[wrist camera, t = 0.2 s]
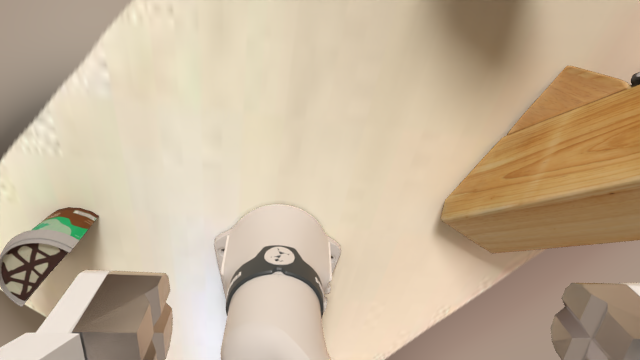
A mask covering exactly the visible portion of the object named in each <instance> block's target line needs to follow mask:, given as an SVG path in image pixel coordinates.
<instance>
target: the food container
mask: <svg viewBox="0 0 640 360" xmlns="http://www.w3.org/2000/svg"><path fill="white" fill-rule="evenodd" d="M98 217H99V216H98V215H96V214H95V213H93V212H91V211H88V210H84V209H81V208H70V207H68V208H64V209H60V210H57V211H56V212H54V213H52V214H51V215H50V216H48V217H47V218H46V219H45V220H43V221H42V222H41V223H40V224H38V225H37V226H36V227H35V228H33V229H32V230H31V231H27V232H23V233H21V234H19V235H17V236H15V237H14V238H12V239H11V240H10V241H9V242H8V243H7V245H6V246H5V248H4V249H3V251H2V253H1V255H0V287H1V289H2V290H3V291H4V293H5V294H6V295H7V296H8V297H9V298H10V299H11V300H12V301H13V302H15V303H16V304H18V305H19V306H21V307H22V306H23V305H24V304H25V302H26V301H27V300H28V299H29V297H30V296H31V295H32V294H33V293H34V291H35V290H36V289H37V288H38V287H39V285H40V284H41V283H42V282H43V281H44V279H45V278H46V277H47V276H48V274H49V273H50V272H51V271H53V269H54V268H55V267H56V265H58V263H59V262H60V261H61V260H62V259H63V258H64V256H65V255H67V253H70V252H71V250H72V249H73V248H74V247H75V246H76V244H77V243H78V242H79V241H80V239H81V238H82V237H83V235H84V234H85V233H86V232H87V230H88V229H89V228H90V227H91V225H92V224H93V223H94V222H95V220H96V219H97V218H98Z"/></svg>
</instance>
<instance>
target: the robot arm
mask: <svg viewBox="0 0 640 360" xmlns="http://www.w3.org/2000/svg"><path fill="white" fill-rule="evenodd" d="M214 246H215V251H216V256H217V260H218V265H219V269H220V274H221V279H222V283H223V288H224V292H225V297H226V313H227V320H226V326H225V331H224V336H223V341H222V347H221V360H331V358H330V356H329V354H328V351H327V348H326V343H325V338H324V333H323V327H322V320H321V318H322V315H323V312H325V310H326V306H327V298H326V297H324V294H329V293H330V289H331V285H330V284H328V283H329V282H330V281H332V273H333V271H334V268H335V266H336V263H337V261H338V259H339V256H340V253H341V247H340V245H339V244H338V243H337V242H336V241H334V240H333V239H331V238H330V237H328V236H327V235H326V233H325V232H324V230H323V228H322V227H321V225H320V224H319V222H318V221H317V220H316V219H315V218H314V217H313V216H312V215H310V214H309V213H307V212H306V211H304V210H302V209H300V208H297V207H294V206H290V205H284V204H272V205H266V206H262V207H259V208H256V209H254V210H252V211H250V212H249V213H247V214H246V215H244V216H243V217H242V218H241V219H240V220H239V221H238V222H237V224H236V225H235V226H234V227H233V228H232V229H230V230H228V231H226V232H224V233H222V234H220V235H218V236H217V237H216V238H215V243H214ZM222 249H225V251H223V250H222ZM331 256H333V257H331ZM169 292H170V285H169V277H168V276H167V274H166V273H152V272H130V271H100V270H85V271H83V272H81V273H79V274H78V275H77V277H76V278H75V279H74V281H73V282H72V283H71V285H70V286H69V288H68V289H67V290H66V292H65V293H64V294H63V296H62V297H61V299H60V300H59V301H58V303H57V304H56V305H55V307H54V308H53V310H52V311H51V312H50V314H49V315H48V316H47V318H46V319H45V321H44V322H43V323H42V325H41V326H40V327H39V329H38V330H37V332H36V333H25V334H23V335H22V336H20V337H19V338H17V339H15V340H13V341H11V342H9V343H8V344H6V345H4V346H2V347H1V348H0V360H165V359H166V356H167V353H168V350H169V347H170V341H171V335H172V325H173V316H172V308H171V307H170V306H169V305H168V304H167V303H166V300H167V298H168V295H169ZM562 300H563V303H564V305H565V307H564V308H563V309H562V310H560V311H559V312H558V313H557V314H556V315H555V316H554V319H553V322H552V325H551V338H552V343H553V345H554V348H555V351H556V352H557V354H558V355H559V357H560V358H561V360H640V283H618V284H602V283H601V284H600V283H571V284H570V285H569V286H568V287H567V288H566V289H565V291H564V294H563V296H562Z"/></svg>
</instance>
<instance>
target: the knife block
mask: <svg viewBox="0 0 640 360" xmlns="http://www.w3.org/2000/svg"><path fill="white" fill-rule="evenodd" d="M631 83H632V85H629V84H628V83H627V82H625V81H623V80H620V79H617V78H613V77H610V76H606V75H603V74H599V73H596V72H592V71H589V70H585V69H581V68H577V67H574V66H567V67H566V68H565V69H564V70H563V71H562V72H561V73H560V74H559V75H558V76H557V78H556V79H555V80H554V81H553V82H552V83H551V84H550V85H549V87H548V88H547V89H546V90H545V91H544V92H543V93H542V94H541V96H540V97H539V98H538V99H537V100H536V101H535V102H534V103H533V104H532V106H531V107H530V108H529V109H528V110H527V111H526V112H525V113H524V115H523V116H522V117H521V118H520V119H519V120H518V121H517V123H516V124H515V125H514V126H513V127H512V129H511V130H510V131H509V133H508V134H507V136H505V137H503V138H502V139H501V140H500V141H499V142H498V143H497V144H496V145H495V146H494V147H493V148H492V149H491V150H490V151H489V153H488V154H487V155H486V156H485V157H484V158H483V159H482V160H481V161H480V162H479V164H478V165H477V166H476V167H475V168H474V169H473V170H472V171H471V172H470V173H469V175H468V176H467V177H466V178H465V179H464V180H463V181H462V182H461V183H460V184H459V186H458V187H457V188H456V189H455V190H454V191H453V192H452V193H451V194H450V195H449V196H448V198H447V199H446V200H445V203H444V207H443V210H442V215H441V220H442V221H443V222H444V223H446V224H448V225H449V226H451V227H452V228H454V229H455V230H457V231H458V232H460V233H461V234H463V235H464V236H466V237H467V238H469V239H470V240H472V241H473V242H475V243H476V244H478V245H480V246H481V247H483V248H484V249H486V250H487V251H489V252H490V253H502V252H513V251H526V250H537V249H548V248H558V247H568V246H580V245H591V244H603V243H613V242H623V241H634V240H640V72H638V73H636V74H634V75H633V76H632V78H631Z"/></svg>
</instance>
